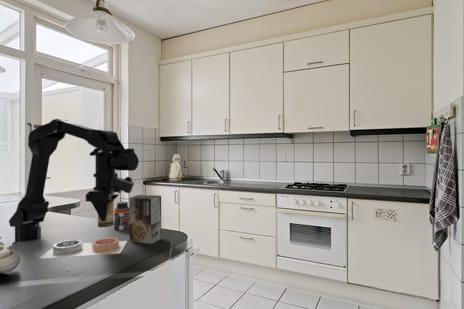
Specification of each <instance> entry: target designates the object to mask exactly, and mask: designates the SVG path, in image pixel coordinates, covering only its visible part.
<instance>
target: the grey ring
mask: <svg viewBox="0 0 464 309" xmlns="http://www.w3.org/2000/svg"><path fill="white" fill-rule="evenodd" d="M82 243H83V241H82V240H81V239H67V240H61V241H59V242H56V243H55V244H53V245H52V248H53V253H54V254H58V255H63V254H70V253H75V252H77V251H80V250H81V249H82Z"/></svg>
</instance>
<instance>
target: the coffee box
mask: <svg viewBox="0 0 464 309" xmlns="http://www.w3.org/2000/svg"><path fill="white" fill-rule="evenodd" d="M128 205H129V206H128V207H129V217H130V230H129V242H132V243H140V244H147V245H152V244H154V243H156V242H158V241H160V240H162V195H151V194H150V195H149V194H139V195H134V196H132V197H131V196H130V197H129V198H128Z"/></svg>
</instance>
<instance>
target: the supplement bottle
mask: <svg viewBox="0 0 464 309" xmlns="http://www.w3.org/2000/svg"><path fill="white" fill-rule="evenodd" d="M128 205H129V201H119V202H117V203H116V207H115V208H114V210H113V221H114V225H113V226H114V228H113V229H114V231H115V232H116V231H130V217H129V206H128Z"/></svg>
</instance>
